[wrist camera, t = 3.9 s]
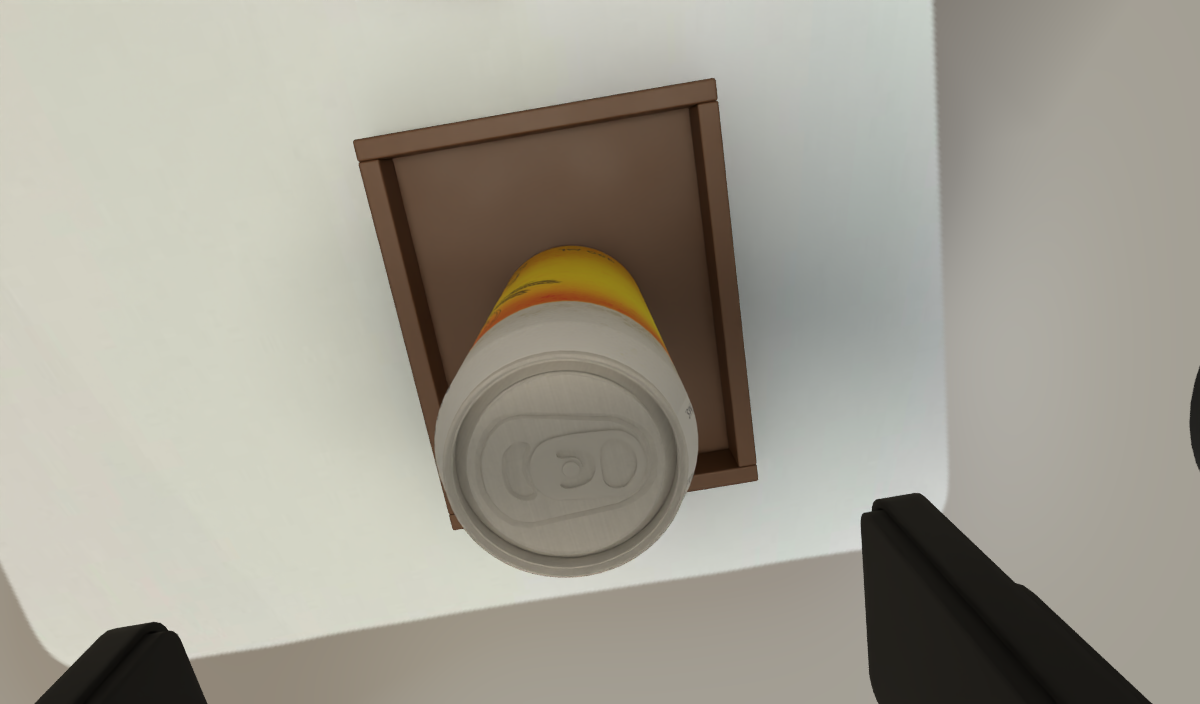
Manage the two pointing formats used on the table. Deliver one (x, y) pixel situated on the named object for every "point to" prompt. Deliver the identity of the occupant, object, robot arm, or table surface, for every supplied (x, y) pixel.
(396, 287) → the tray
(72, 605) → the table surface
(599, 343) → the beer can
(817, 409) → the table surface
